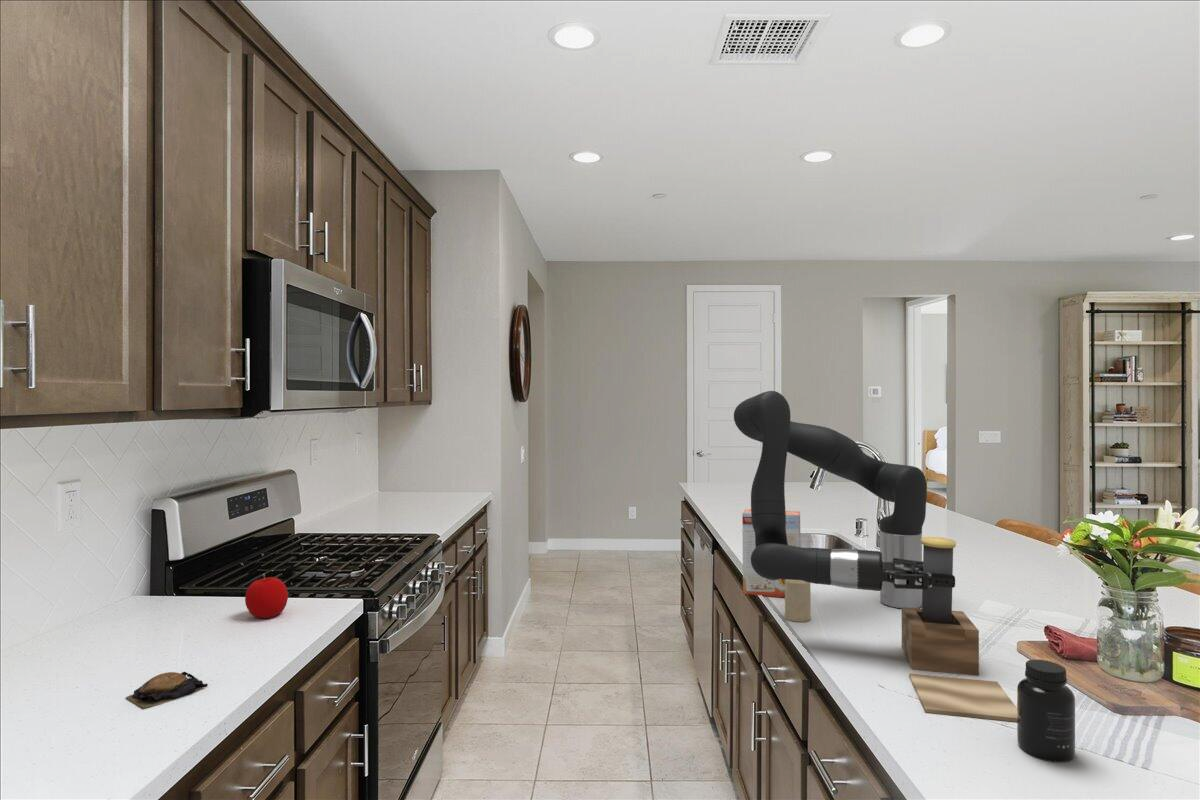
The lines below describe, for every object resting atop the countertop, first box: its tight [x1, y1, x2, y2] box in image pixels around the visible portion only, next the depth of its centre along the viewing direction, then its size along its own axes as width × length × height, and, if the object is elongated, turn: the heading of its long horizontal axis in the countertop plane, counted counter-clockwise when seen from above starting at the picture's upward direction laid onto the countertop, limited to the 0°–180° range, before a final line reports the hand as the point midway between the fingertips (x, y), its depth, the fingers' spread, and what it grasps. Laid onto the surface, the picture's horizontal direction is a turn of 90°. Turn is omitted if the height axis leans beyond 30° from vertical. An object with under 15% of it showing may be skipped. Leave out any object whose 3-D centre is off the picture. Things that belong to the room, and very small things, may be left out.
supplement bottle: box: [1016, 659, 1076, 763], centre depth 95 cm, size 7×7×12 cm
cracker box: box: [741, 508, 802, 598], centre depth 171 cm, size 14×6×21 cm, turn 71°
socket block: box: [901, 607, 980, 676], centre depth 128 cm, size 11×11×8 cm
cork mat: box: [908, 673, 1017, 723], centre depth 112 cm, size 14×14×1 cm
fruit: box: [244, 573, 289, 619], centre depth 156 cm, size 9×9×10 cm
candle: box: [784, 579, 812, 623], centre depth 152 cm, size 6×6×10 cm
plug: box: [921, 536, 957, 623], centre depth 128 cm, size 6×6×15 cm
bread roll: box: [125, 671, 208, 710], centre depth 116 cm, size 11×8×4 cm
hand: (952, 577), depth 127 cm, fingers closed on plug, 5 cm apart
